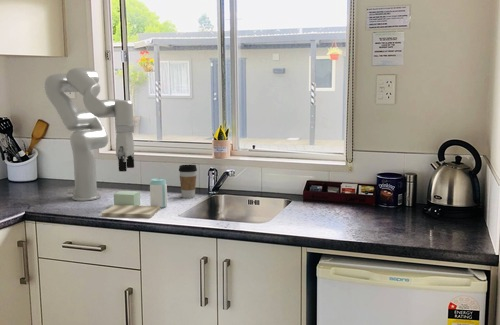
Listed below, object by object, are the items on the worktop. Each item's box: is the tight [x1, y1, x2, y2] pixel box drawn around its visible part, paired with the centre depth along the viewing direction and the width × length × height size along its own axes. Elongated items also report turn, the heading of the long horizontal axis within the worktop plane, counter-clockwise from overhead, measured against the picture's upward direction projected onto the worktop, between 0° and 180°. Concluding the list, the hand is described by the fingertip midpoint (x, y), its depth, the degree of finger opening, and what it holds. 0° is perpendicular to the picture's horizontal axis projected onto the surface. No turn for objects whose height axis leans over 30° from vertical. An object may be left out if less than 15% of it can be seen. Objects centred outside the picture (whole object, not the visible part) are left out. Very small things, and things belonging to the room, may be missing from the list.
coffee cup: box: [178, 164, 198, 199], centre depth 254 cm, size 8×8×15 cm
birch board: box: [101, 204, 161, 219], centre depth 224 cm, size 20×14×2 cm
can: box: [149, 177, 168, 209], centre depth 234 cm, size 7×7×12 cm
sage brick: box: [113, 190, 141, 206], centre depth 236 cm, size 9×7×6 cm
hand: (126, 169), depth 234 cm, fingers open, 9 cm apart
